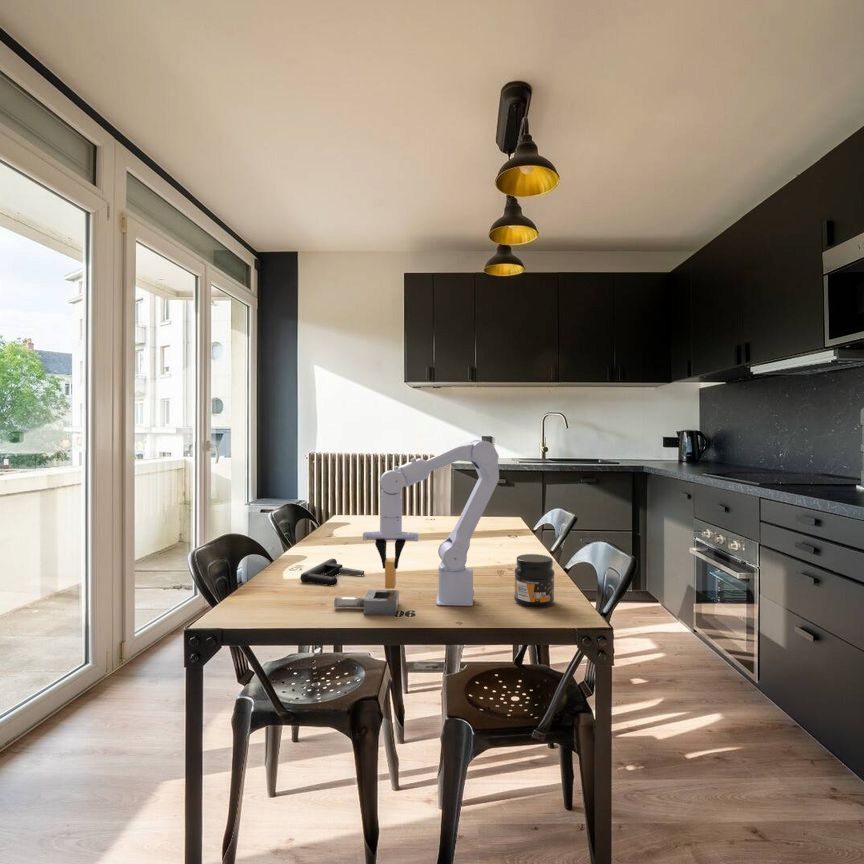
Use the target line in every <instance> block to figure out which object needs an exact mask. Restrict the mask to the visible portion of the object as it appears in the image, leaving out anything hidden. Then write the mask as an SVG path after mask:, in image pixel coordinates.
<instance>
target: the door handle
mask: <svg viewBox="0 0 864 864" xmlns="http://www.w3.org/2000/svg"><path fill="white" fill-rule="evenodd" d="M339 573H340V574H339ZM300 574H301V575H300V578H299V579H300V580H301V582H302V583H304V582H306V583H311V582H312V583H313V584H317V583H319V585H323V584H327V585H326V586H330V585H333V586H335V585H334V584H336V583H337V584H338V579H337V577H336V576H338V575H344V574H350V575H349V576H353V575H361V576H360V577H363V576H364V575H365V570H362V569H361V570H360V569H355V568H348V567H343V564H341V563H338V561H337V559H336V558H329V559H327V560H326V561H323V562H322V563H320V564H318V565H316V566H314V567H312V568H310V569H308V570H306V571H305V572H303V573H300ZM337 574H338V575H337ZM335 575H336V576H335ZM362 575H363V576H362ZM333 576H334V577H333ZM337 584H336V585H337Z"/></svg>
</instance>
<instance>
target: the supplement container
mask: <svg viewBox="0 0 864 864" xmlns="http://www.w3.org/2000/svg"><path fill="white" fill-rule="evenodd" d="M553 562H554V559H553V558H552V557H551V556H548V555H545V554H536V553H525V554H520V555H518V556H517V557H516V567H515V568H514V601H515V603H516V604H518V605H520V606H522V607H526V608H530V607H531V609H543V608H544V607H545V608H548V607H551V606H552V605H553V604H554V602H555V573H556V572H555V570H554V569H553V566H554V563H553Z"/></svg>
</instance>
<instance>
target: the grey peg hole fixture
mask: <svg viewBox="0 0 864 864" xmlns="http://www.w3.org/2000/svg"><path fill="white" fill-rule="evenodd" d="M399 603H400V590H399V589H368V591H367V593H366V595H365V596H364V597H334V603H333V604H334V605H333V606H334V608H353V609H354V608H357V609H359V608H360V609H361V608H362V609H363V615H364V616H365V615H366V616H397V613H396V612H398V609H397V608H399V605H400V604H399ZM398 604H399V605H398Z"/></svg>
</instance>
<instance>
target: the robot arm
mask: <svg viewBox="0 0 864 864" xmlns="http://www.w3.org/2000/svg"><path fill="white" fill-rule="evenodd" d="M458 461H461V462H469V463H471V464H472V465H473V466H474V468H475V471H476V473H477V476H478V479H477V481H476V483H475V485H474V487H473V489H472V491H471V493H470V495H469V498H468V499H467V501H466V504H465V506H464V508H463V509H462V511H461V514H460V516H459V518H458V520H457V522H456V524H455V527H454V528H453V530H452V531H451V532H450V533H449V534H448V536H447V538H446V539H445V540H443V542H442V543H440V544H439V546H438V551H437V554H438V557H439V558H440V560H441V562H440V564H439V565H438V580H437V582H438V586H437V587H438V593H437V595H436V605H437V606H461V607H462V606H464V607H465V606H466V607H467V606H469V607H473V606H474V596H475V590H474V570H473V568H469V567H466V563H467V561H468V560H467V559H468V557H467V556H468V551H469V549H470V545H471V538H472V536H473V534H474V532H475V531H476V530H475V529H476V527H478V524H479V521H480V520H481V518H482V516H483V513H484V511H485V509H486V507H487V505H488V503H489V501H490V499H491V497H492V495H493V493H494V491H495V489H496V487H497V485H498V482H499V480H500V471H499V454H498V452H497V450H496V448H495V446H494V444H493V443H491V442H489V441H488V440H480V439H474V440H472V441H470V442H465V443H462V444H459V445H456V446H454V447H452V448H450V449H447V450H445V451H443V452H442V453H439V454H436V455H435V456H433V457H430V458H428V459H427V460H425V459H424V458H417V459H416V458H415V457H413V458H410V462H407V463H405V464H402V465H400V466H398V465H395V466H393V469H394V470H391V469H390V470H386V471H385V472H383V473H382V474H381V476H380V478H379V481H378V482H379V486H380V487H381V492H380V497H381V498H380V500H379V504H380V505H379V531H378V530H377V531H363V533H362V541H365V542H366V541H375V543H374V544H375V547H376V550H377V551H378V554H379V556H380V560H381V563H382V569H384V570H385V561H386V558H387V543H388V542H387V541H395V542H394V553H395V554H394V558H395V565H394V566H395V569H396V570H397V569H398V567H399V560H400V556H401V554H402V551H403V548H404V547H405V544H406V543H407V542H406V541H408V542H410V541H411V542H419V532H409V531H402V528H403V526H402V525H403V522H402V521H403V519H402V516H403V513H402V512H403V499H402V490H403V488H404V487H405V488H408V487H410V486H413V485H415V484H417V483H419V482H422V481H424V480H426V479H428V478H429V477H430V474H431V472H433V471H436V470H438V469H440V468H443V467H445V466H448V465H450V464H453V463H456V462H458Z"/></svg>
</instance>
